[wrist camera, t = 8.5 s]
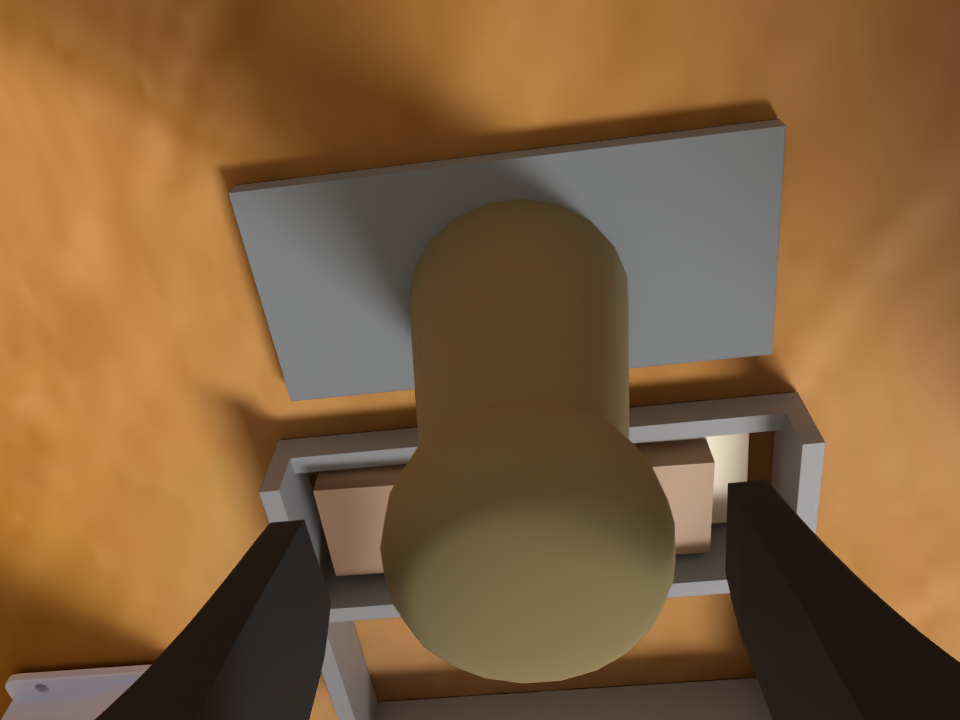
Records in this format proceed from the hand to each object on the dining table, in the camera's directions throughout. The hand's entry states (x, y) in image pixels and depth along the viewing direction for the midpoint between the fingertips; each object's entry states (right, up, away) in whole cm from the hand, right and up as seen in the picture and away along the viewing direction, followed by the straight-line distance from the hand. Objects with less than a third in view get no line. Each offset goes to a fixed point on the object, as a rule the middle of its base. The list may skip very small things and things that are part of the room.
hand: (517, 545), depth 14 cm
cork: (0, +5, +9) cm, 10 cm away
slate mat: (0, +6, +9) cm, 10 cm away
